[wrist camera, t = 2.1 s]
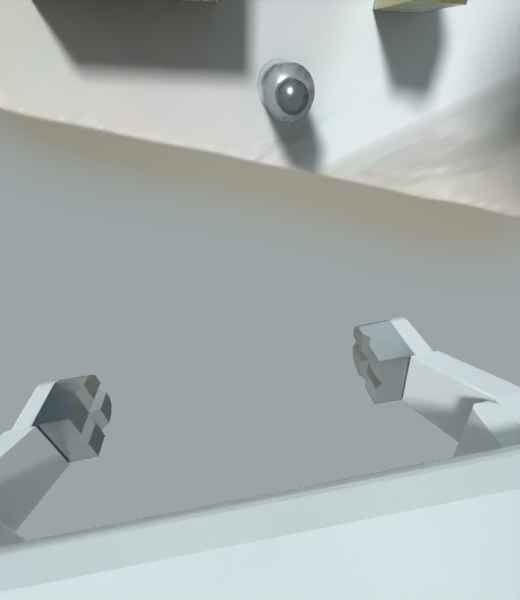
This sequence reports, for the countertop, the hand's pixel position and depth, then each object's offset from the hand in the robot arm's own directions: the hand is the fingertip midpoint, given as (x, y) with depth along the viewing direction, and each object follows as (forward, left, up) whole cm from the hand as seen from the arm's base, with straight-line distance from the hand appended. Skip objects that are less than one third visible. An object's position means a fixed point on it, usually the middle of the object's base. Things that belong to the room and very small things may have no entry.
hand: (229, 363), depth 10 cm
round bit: (-5, +4, -27) cm, 28 cm away
